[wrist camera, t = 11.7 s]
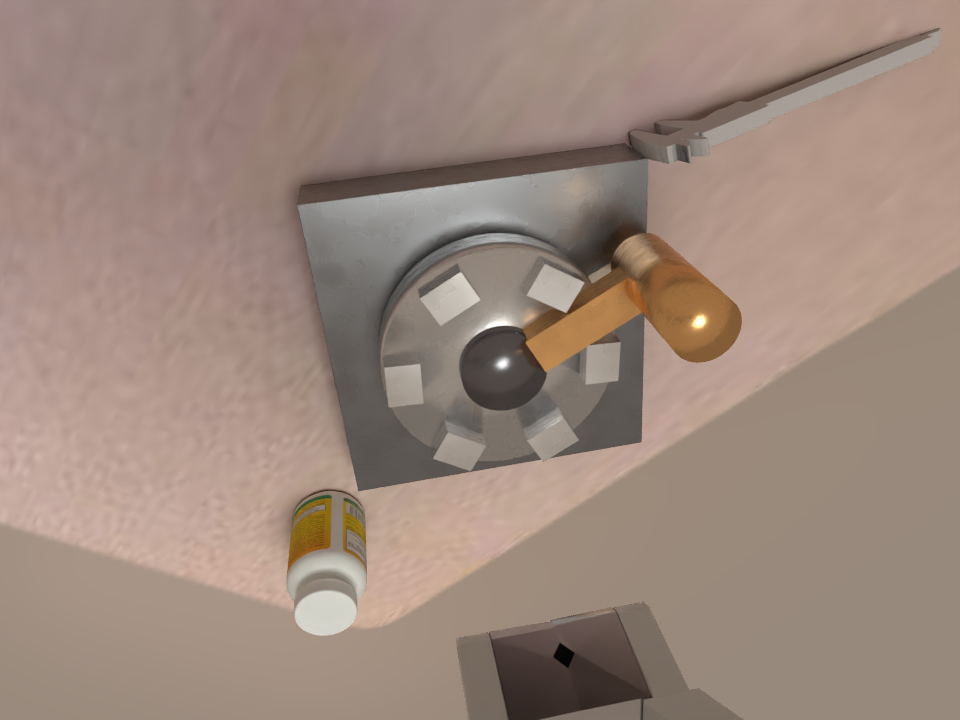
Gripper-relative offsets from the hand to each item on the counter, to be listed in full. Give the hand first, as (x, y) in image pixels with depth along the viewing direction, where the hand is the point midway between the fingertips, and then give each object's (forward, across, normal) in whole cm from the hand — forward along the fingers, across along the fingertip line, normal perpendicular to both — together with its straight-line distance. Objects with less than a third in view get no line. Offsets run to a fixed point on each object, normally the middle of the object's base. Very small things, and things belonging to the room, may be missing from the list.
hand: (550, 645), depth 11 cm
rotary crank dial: (+33, -6, +11) cm, 35 cm away
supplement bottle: (+37, +9, +27) cm, 47 cm away
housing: (+37, -4, +12) cm, 39 cm away
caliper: (+38, -24, 0) cm, 45 cm away
